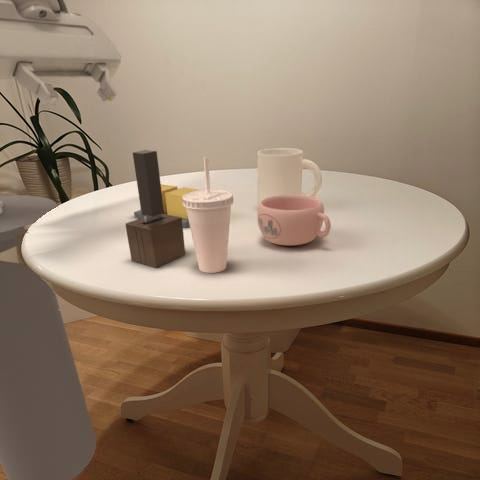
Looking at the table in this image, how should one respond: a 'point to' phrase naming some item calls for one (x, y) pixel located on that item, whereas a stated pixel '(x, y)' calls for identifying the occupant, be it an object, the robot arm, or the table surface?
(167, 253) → the knife block
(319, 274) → the table surface
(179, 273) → the table surface
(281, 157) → the mug
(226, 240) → the smoothie
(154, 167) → the knife
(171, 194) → the butter
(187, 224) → the butter dish
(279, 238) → the mug
